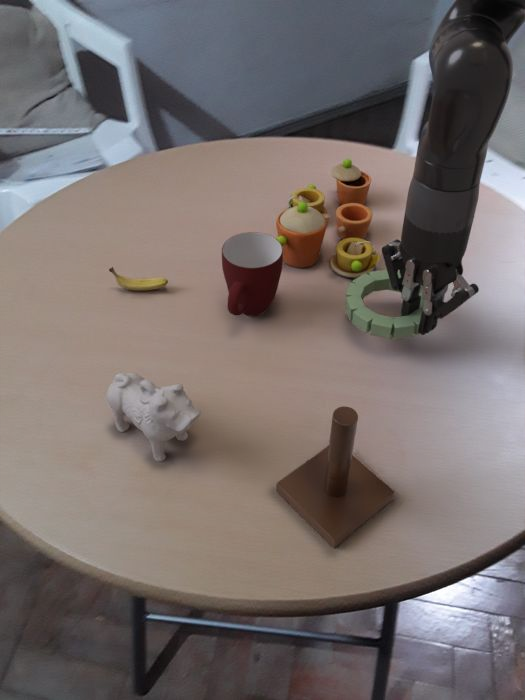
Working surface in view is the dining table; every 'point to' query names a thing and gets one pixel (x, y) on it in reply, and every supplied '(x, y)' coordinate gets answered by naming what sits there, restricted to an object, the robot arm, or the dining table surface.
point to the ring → (376, 322)
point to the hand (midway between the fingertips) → (417, 325)
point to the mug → (251, 272)
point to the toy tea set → (310, 225)
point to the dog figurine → (151, 409)
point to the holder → (336, 485)
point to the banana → (139, 282)
